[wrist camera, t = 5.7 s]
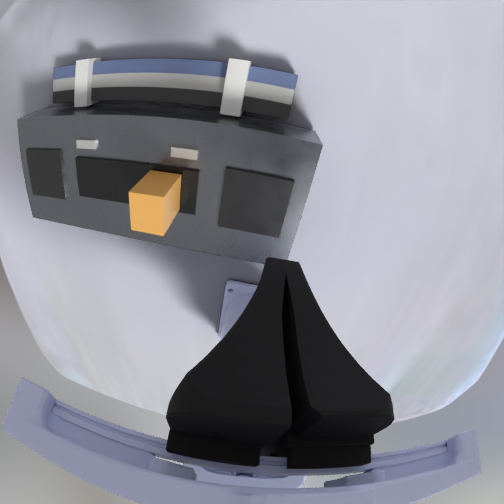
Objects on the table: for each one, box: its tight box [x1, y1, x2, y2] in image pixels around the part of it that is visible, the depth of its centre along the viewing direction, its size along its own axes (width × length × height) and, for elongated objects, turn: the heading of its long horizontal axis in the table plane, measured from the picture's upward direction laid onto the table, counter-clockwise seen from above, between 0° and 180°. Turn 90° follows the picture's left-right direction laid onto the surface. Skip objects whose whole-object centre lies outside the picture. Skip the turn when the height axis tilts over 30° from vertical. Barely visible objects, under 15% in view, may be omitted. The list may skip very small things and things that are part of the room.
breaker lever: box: [129, 170, 181, 236], centre depth 15 cm, size 2×2×3 cm
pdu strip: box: [17, 104, 323, 264], centre depth 18 cm, size 9×22×4 cm, turn 80°
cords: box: [53, 58, 298, 120], centre depth 15 cm, size 4×18×2 cm, turn 80°
